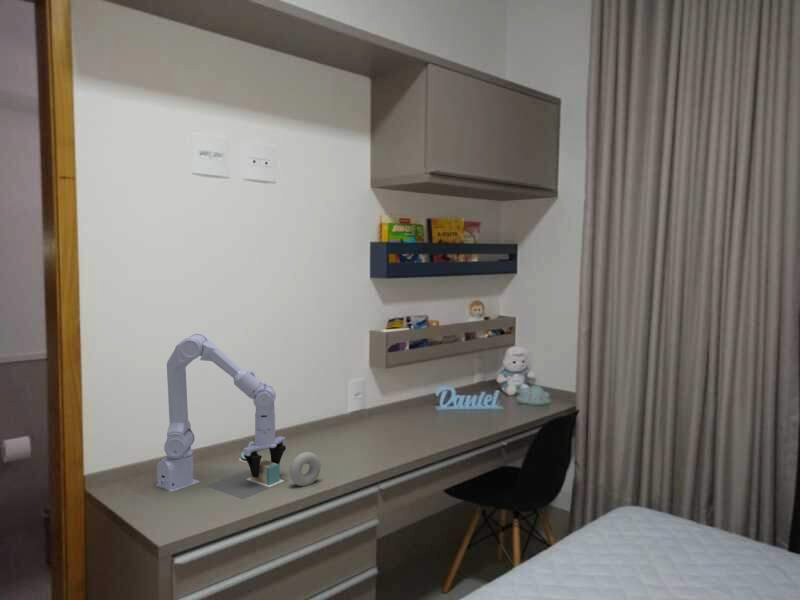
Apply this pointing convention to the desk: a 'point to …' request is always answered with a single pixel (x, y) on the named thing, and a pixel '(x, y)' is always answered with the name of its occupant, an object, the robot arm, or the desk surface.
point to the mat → (242, 485)
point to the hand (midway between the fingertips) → (265, 473)
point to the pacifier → (243, 452)
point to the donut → (299, 463)
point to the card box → (268, 472)
